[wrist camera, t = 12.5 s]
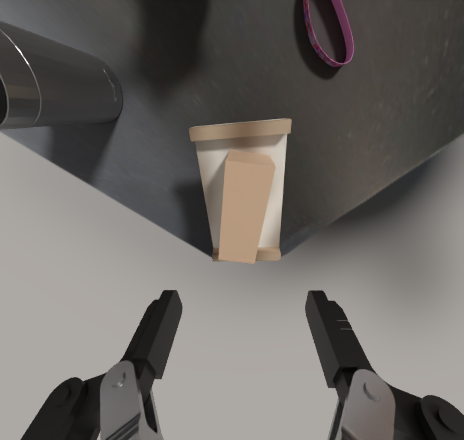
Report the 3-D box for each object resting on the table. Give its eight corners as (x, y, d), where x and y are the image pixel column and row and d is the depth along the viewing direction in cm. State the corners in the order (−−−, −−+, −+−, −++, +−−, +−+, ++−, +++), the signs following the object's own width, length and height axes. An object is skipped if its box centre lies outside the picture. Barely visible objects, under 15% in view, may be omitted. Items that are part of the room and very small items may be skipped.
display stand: (219, 212, 40) (206, 261, 27) (206, 122, 31) (178, 129, 18) (273, 210, 39) (287, 260, 26) (277, 115, 30) (302, 118, 17)
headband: (289, -3, 23) (293, -14, 21) (317, -34, 22) (325, -48, 20) (325, 79, 27) (331, 76, 25) (351, 57, 26) (360, 52, 24)
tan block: (222, 235, 26) (218, 259, 22) (229, 150, 20) (225, 160, 16) (252, 239, 26) (254, 263, 22) (269, 154, 20) (275, 166, 16)
